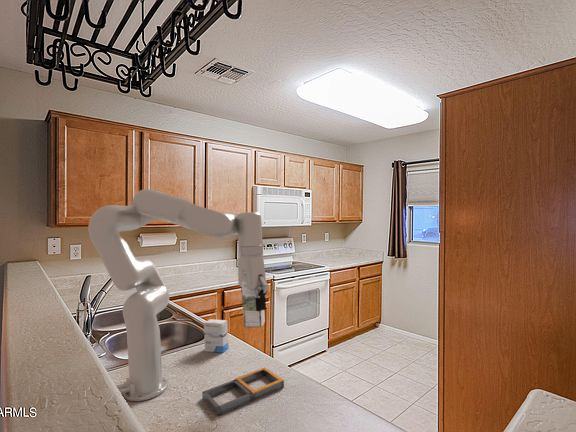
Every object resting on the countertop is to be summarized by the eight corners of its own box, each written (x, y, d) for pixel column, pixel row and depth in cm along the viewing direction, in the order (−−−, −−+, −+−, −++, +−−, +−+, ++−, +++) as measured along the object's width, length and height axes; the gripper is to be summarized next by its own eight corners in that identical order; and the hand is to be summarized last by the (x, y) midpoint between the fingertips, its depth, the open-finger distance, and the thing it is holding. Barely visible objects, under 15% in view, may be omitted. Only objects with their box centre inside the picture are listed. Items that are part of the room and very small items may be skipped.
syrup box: (265, 321, 102) (263, 276, 102) (261, 328, 96) (259, 280, 96) (248, 321, 102) (245, 277, 102) (243, 328, 97) (241, 280, 97)
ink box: (229, 348, 130) (227, 319, 130) (222, 353, 126) (221, 323, 126) (211, 346, 133) (209, 318, 133) (204, 351, 128) (203, 322, 129)
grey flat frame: (217, 416, 85) (217, 407, 85) (202, 398, 94) (202, 390, 94) (283, 387, 98) (283, 379, 98) (265, 374, 107) (264, 367, 107)
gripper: (228, 251, 104) (230, 304, 104) (254, 254, 90) (257, 316, 90) (248, 249, 109) (250, 300, 108) (276, 251, 94) (279, 310, 94)
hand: (253, 307), depth 99 cm, fingers closed on syrup box, 8 cm apart
